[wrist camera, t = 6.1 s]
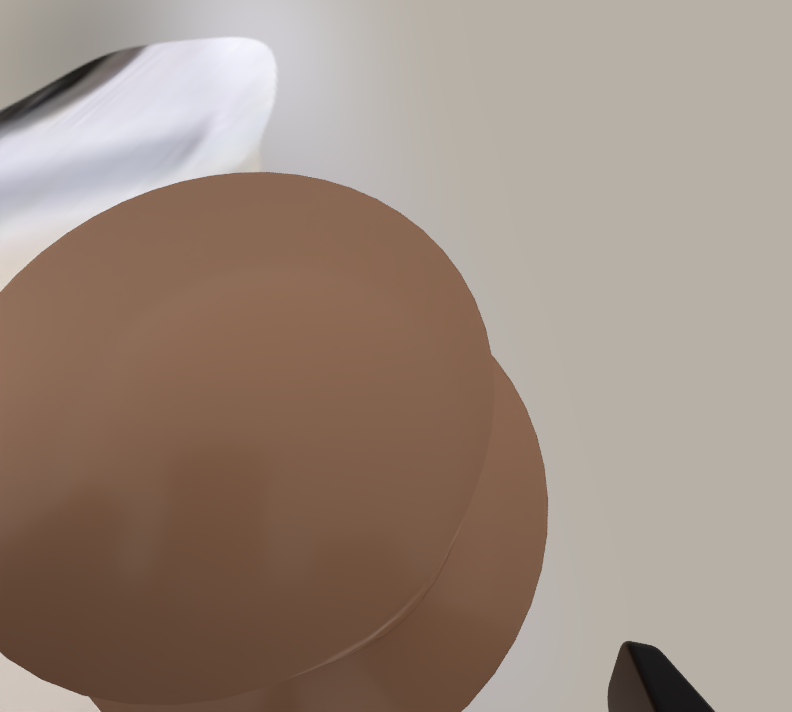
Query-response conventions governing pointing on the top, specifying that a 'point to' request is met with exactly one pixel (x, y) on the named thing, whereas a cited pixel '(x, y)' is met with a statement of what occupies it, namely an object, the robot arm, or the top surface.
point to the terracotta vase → (260, 459)
